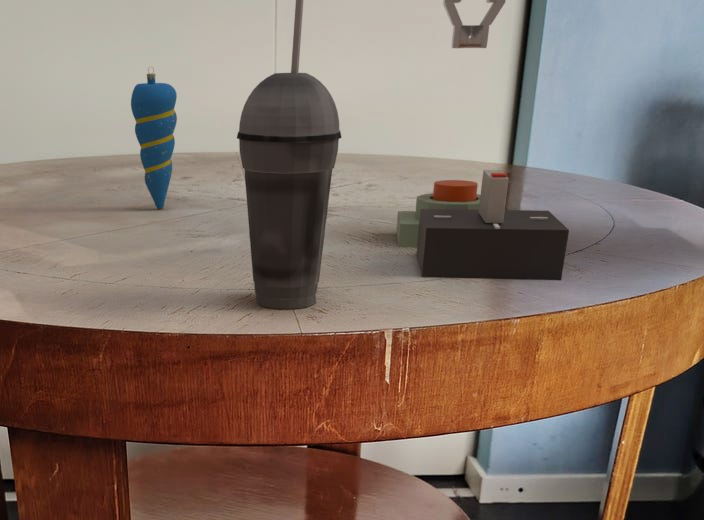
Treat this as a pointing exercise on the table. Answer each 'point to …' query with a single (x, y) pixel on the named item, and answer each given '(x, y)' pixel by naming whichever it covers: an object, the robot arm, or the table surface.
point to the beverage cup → (288, 180)
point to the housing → (410, 219)
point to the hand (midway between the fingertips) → (468, 48)
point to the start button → (455, 191)
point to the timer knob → (493, 196)
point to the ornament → (155, 133)
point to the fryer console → (491, 245)
